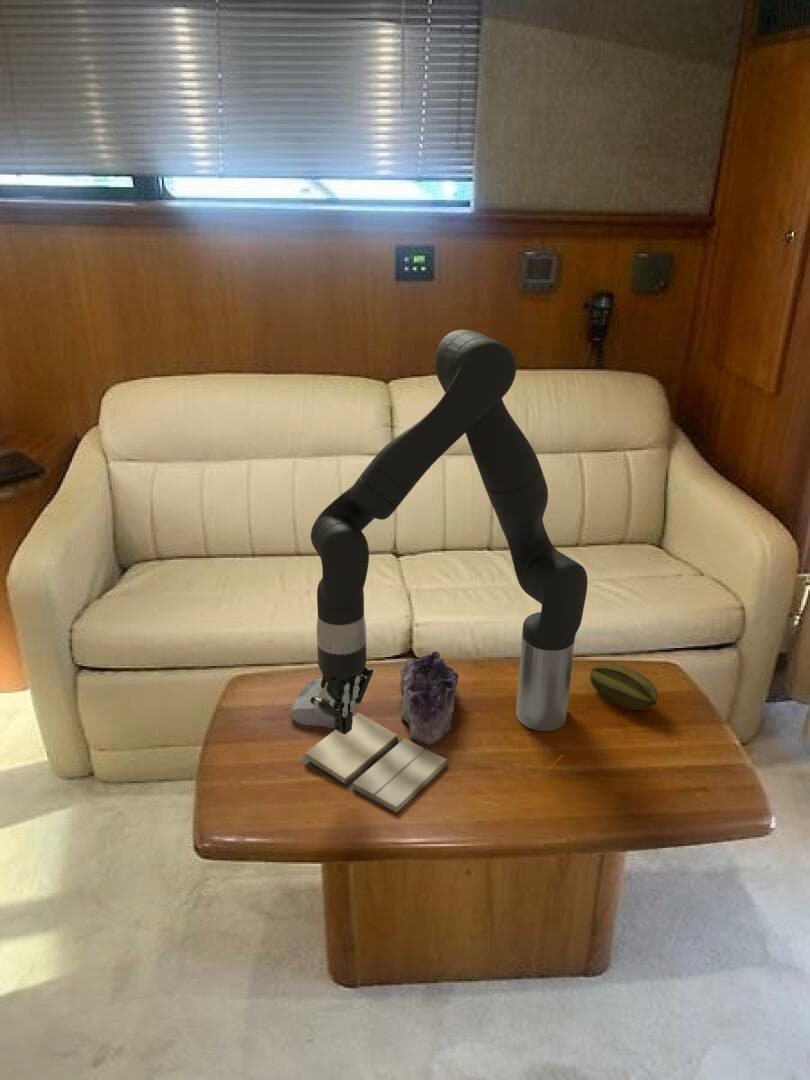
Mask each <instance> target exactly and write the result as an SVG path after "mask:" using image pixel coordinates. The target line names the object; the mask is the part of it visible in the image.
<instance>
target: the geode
mask: <svg viewBox="0 0 810 1080" xmlns="http://www.w3.org/2000/svg"><path fill="white" fill-rule="evenodd" d="M444 661H445V659H444V658H441V654H440V652H439V651H432V652H431V653H430V654H426V655H422V656H421V657H420V658H417V659H414V658H411V657H410V658H407V659H406V660H405V661H404V663H403V665H402V667H401V668H400V677H401V678H400V681H399V682H400V689H401V692H402V695H403V696H402V709H401V710H402V711H401V719H400V720H401V721H402V722H404V723H405V724H408V727H409V735H410V739H411V740H412V741H415V742H417V743H419V744H421V745H423V746H424V745H425V746H427V747H431V746H433V745H435V744H437V743H438V742H439V741H440V740H441V739H443V738H444V737H445V736H447V735H449V733H450V732H451V727H452V723H453V712H455V705H454V704H455V697H456V691H457V685H458V681H459V677H460V674H459V673H458V672H456V671H455V670H454V669H453V668H452V667H450V666H448V665H447V664H446V663H445V662H444Z"/></svg>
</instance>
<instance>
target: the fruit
mask: <svg viewBox="0 0 810 1080" xmlns="http://www.w3.org/2000/svg"><path fill="white" fill-rule="evenodd" d="M589 679H590V682H591V684H592V686H593V688H594V689H595V690H596V691H597V692H598V694H600V695H601V696H602V697H603V698H604V699H606V700H608V701H610V702H611V703H612V704H615V705H617V706H618V707H622V708H625V709H628V710H634V711H635V710H636V711H642V710H646V709H649V708H651V707H653V706H656V705H658V704H657V700H658V695H659V694H658V691H657V688H656V686H655V685H654V683H653V682H652V681H650V680H649V679H648V678H647V677H646V676H645V675H643V674H641V673H639V671H636V670H634V669H631V668H629V667H628V666H625V665H623V664H619V663H601V664H598V665H596V666H594V667H593V668H591V669H590V674H589Z"/></svg>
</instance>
